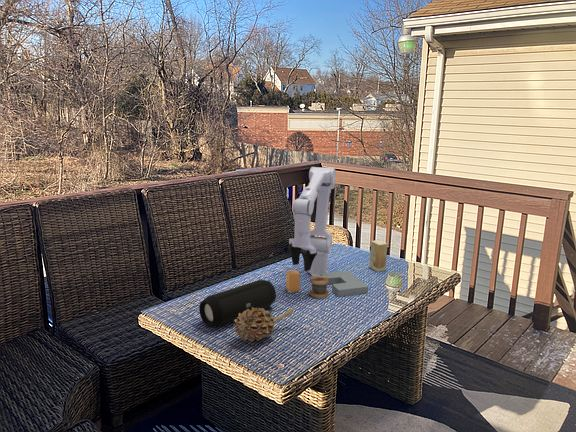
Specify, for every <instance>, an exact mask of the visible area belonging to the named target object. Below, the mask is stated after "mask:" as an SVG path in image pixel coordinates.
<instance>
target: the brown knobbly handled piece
mask: <svg viewBox="0 0 576 432" xmlns="http://www.w3.org/2000/svg"><path fill="white" fill-rule="evenodd" d="M265 309H266V308H265ZM265 309H263V308H262V309H260V308H259V309H258V310H257V308H253V307H252V309H251V310H249V309H247V310H246V311H244V312H243V313H239V317H237V319H235V320H233V321H234V322H235V323H234V324H233V326H235V327H236V329H235V330H234V333H236V336H239V337H240V338H241V339H243V341H245V340H247V341H248V342H253V341H255V340H256V341H257V342H258V341H261V340H262V339H265V338H266V337H268V336H269V333H270V334H273V333H274V331H275V327H274V325H275V324H276V323H277V322H279V321H280V320H283V319H284V318H285V319H286V318H287V317H289V316H290V315H294V314H295V313H294V310H296V309H295V308H293V307H292V308H290V307H288V310H287V311H286V312H284V313H282V314H280V315H278V316H277V317H273V316H272V314H271V312H270V311H268V310H265Z"/></svg>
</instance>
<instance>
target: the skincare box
mask: <svg viewBox="0 0 576 432" xmlns="http://www.w3.org/2000/svg"><path fill="white" fill-rule="evenodd" d="M370 243H371V244H370V254H369V268H370V269H372V270H373V271H376V272H377V273H378V272H385V271H386V268H387V267H386V266H387V255H388V254H387V253H388V245H389V244H388V243H387V242H385V241H382V240H380V239H377V240H371V242H370Z"/></svg>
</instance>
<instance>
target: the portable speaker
mask: <svg viewBox="0 0 576 432" xmlns="http://www.w3.org/2000/svg"><path fill="white" fill-rule="evenodd" d="M276 298H277V291H276V289H275V286H274V284H273V283H272V282H271V281H269V280H268V279H258V280H255V281H251V282H248V283H245V284H242V285H240V286H236V287H232V288H230V289H229V288H228V289H227V290H223V291H219V292H216V293H214V294H210V295H208V296H207V297H205V298H204V299H203V300H202V301H201V302H200V303H199V305H198V306H199V307H198V308H199V315H200V318H201V320H202V322H203V323H204V324H205V326H207V327H220V326H223V325H225V324H227V323H231V322H233V321H234V320H235V319H237V317H239V313H243V312H244V311H246V310H247V309H249V310H251V309H252V307H253V308H257V310H258V309H259V308H260V309H262V308H263V309H267V308H269V307H271V306H272V305H273V304H274V303H275V301H276Z"/></svg>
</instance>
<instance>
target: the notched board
mask: <svg viewBox="0 0 576 432" xmlns="http://www.w3.org/2000/svg"><path fill="white" fill-rule="evenodd" d="M328 272H329V273H320V276H325V277H328V278H329V283H328V284H327V285H331V286H332V287H331V291H332V292H333V293H334V294H335V295H336V296H337V297H346V296H354V295H362V294H363V293H364V294H369V285H367V284H366V283H364V282H363V281H362V280H361V279H360V278H358V277H357V276H355V275H354V274H353V273H352V272H350V271H349V270H340V271H331V272H330V271H328Z"/></svg>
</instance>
